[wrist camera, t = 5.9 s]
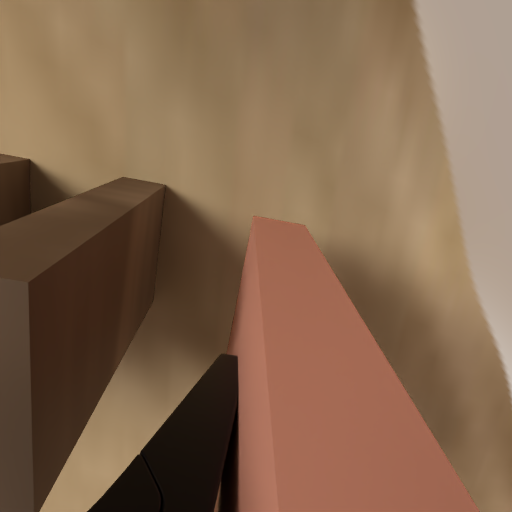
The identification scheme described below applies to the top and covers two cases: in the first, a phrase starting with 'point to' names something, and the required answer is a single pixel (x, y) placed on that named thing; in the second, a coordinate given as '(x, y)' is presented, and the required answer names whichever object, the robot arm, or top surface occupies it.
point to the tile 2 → (14, 188)
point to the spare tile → (320, 398)
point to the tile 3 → (68, 323)
